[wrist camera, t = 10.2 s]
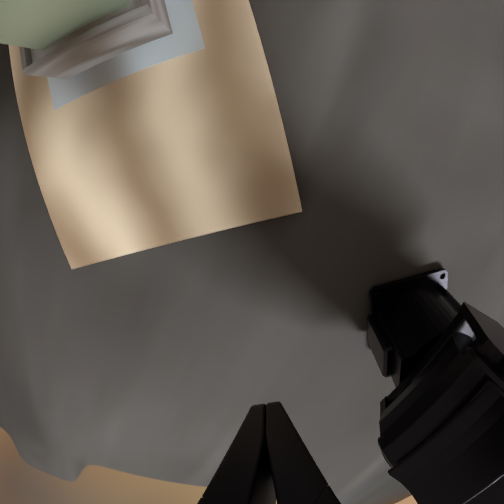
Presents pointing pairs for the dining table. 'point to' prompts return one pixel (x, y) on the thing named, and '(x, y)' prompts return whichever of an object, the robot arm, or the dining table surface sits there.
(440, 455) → the robot arm
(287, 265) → the dining table surface
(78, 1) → the sage block
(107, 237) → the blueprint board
